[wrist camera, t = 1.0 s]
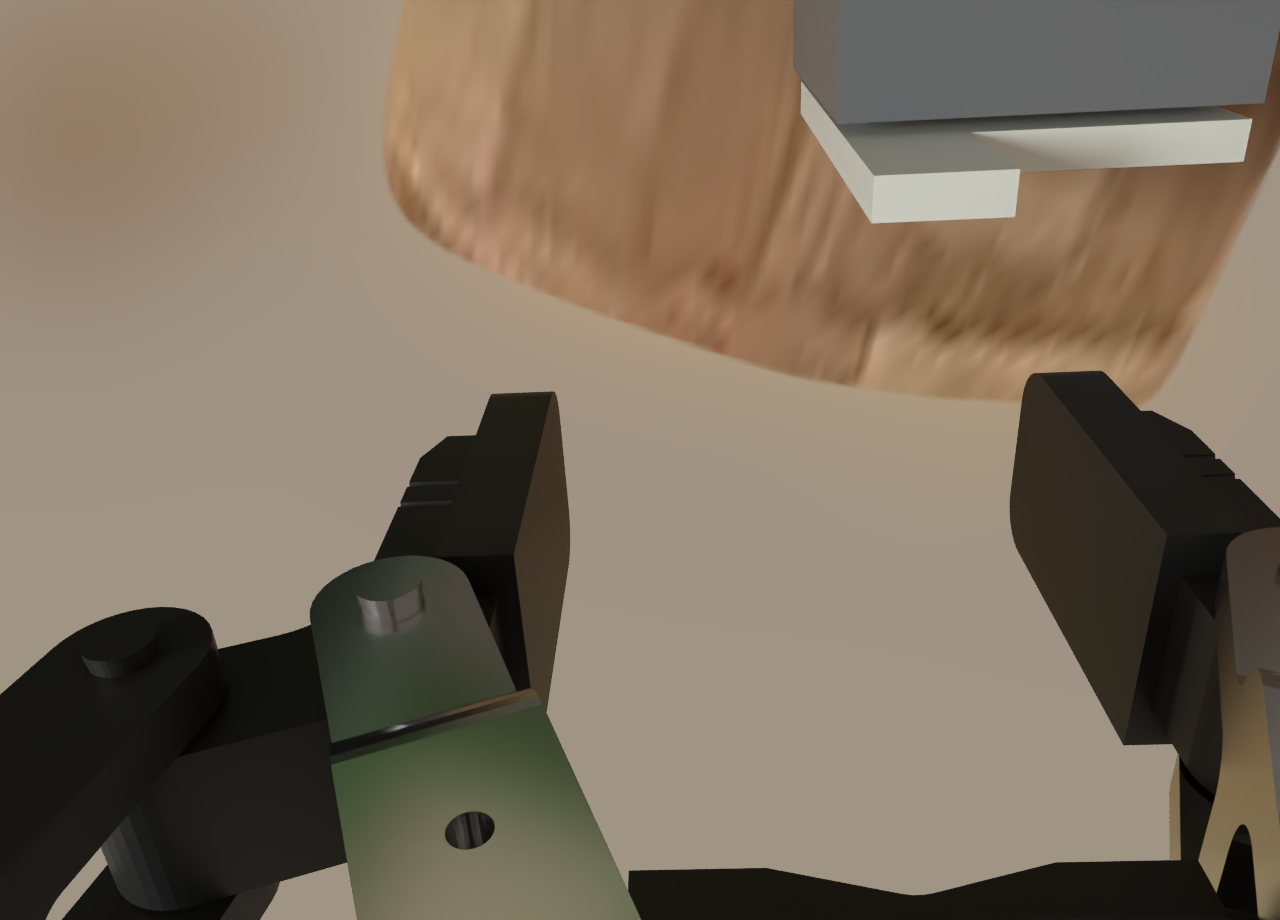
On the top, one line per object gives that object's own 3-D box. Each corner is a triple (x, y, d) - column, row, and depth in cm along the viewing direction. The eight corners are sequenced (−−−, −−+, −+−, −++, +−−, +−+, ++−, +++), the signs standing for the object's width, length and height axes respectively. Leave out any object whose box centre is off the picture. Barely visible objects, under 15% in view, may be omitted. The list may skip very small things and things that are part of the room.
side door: (801, 81, 34) (874, 175, 22) (1106, 65, 34) (1348, 153, 22) (800, 116, 35) (871, 228, 23) (1101, 102, 34) (1334, 207, 22)
